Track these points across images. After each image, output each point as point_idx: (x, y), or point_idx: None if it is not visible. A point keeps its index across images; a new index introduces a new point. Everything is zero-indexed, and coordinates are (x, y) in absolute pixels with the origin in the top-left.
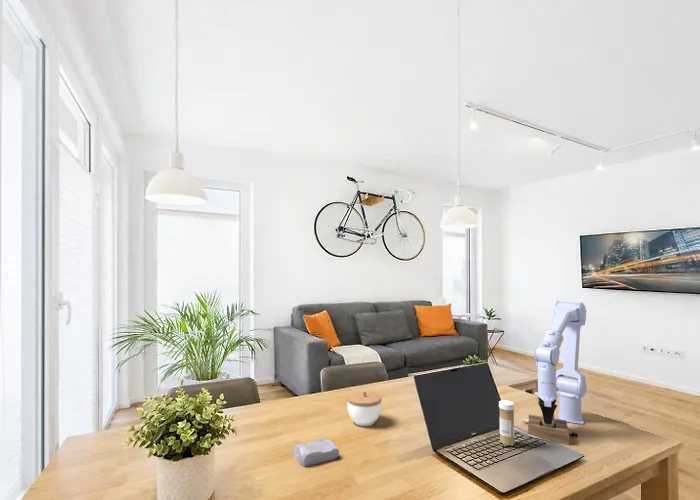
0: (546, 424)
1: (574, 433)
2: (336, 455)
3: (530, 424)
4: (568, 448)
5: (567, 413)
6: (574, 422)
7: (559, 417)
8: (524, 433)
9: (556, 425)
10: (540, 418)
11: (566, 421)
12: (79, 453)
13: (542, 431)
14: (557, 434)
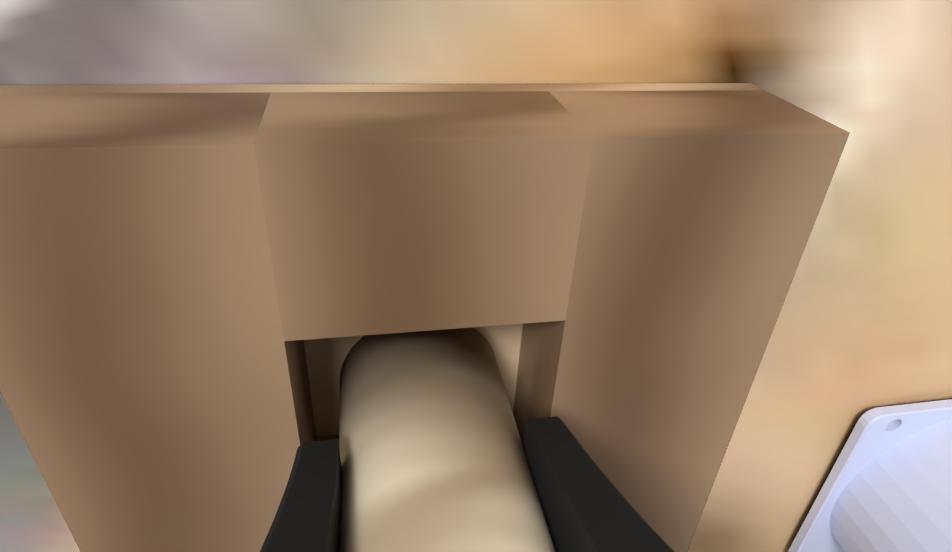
0: (340, 442)
1: None
2: None
3: (224, 189)
4: (46, 531)
5: (911, 542)
6: (811, 515)
7: (931, 416)
8: (173, 9)
9: None
10: (666, 326)
11: (837, 462)
12: None
13: (10, 393)
14: (91, 544)
